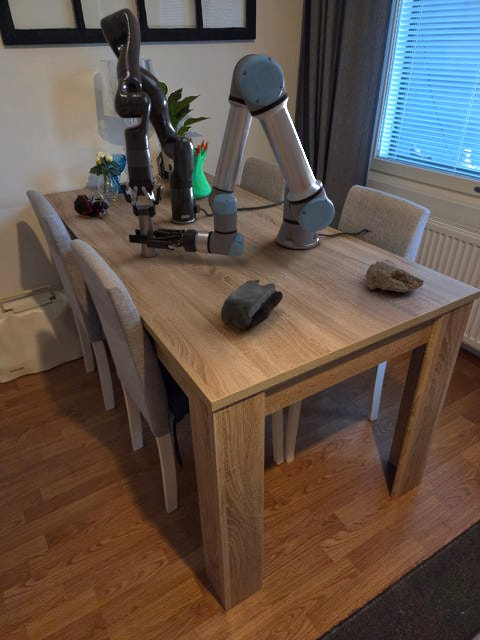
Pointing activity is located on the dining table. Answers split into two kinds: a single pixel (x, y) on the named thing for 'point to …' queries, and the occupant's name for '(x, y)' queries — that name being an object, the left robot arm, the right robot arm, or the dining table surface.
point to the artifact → (391, 277)
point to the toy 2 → (199, 172)
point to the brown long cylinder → (146, 233)
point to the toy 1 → (90, 206)
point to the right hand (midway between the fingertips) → (132, 235)
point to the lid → (143, 209)
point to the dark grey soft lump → (250, 304)
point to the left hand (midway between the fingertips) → (145, 215)
